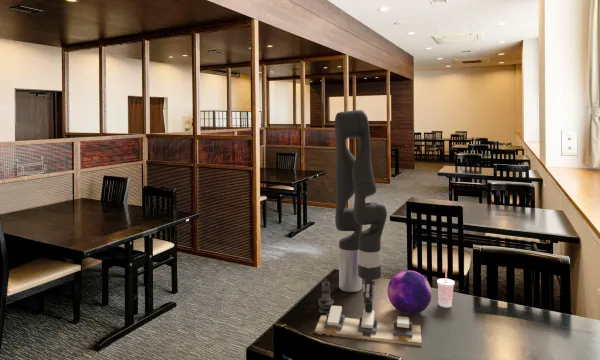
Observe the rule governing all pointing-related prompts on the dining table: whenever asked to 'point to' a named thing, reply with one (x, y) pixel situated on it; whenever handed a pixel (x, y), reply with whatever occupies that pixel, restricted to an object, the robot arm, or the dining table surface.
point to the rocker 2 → (368, 319)
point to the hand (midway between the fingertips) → (368, 312)
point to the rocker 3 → (403, 322)
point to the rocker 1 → (334, 315)
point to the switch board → (371, 330)
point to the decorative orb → (409, 292)
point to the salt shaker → (325, 298)
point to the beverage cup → (445, 291)
